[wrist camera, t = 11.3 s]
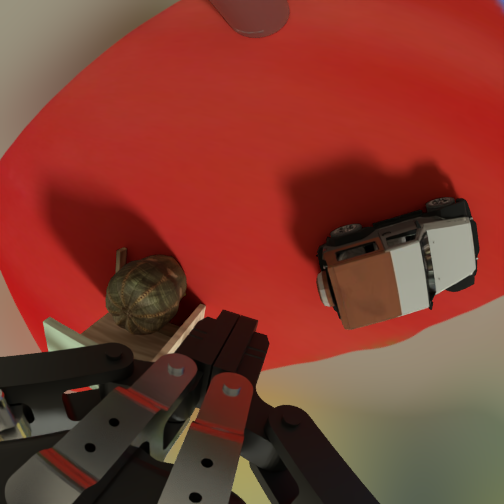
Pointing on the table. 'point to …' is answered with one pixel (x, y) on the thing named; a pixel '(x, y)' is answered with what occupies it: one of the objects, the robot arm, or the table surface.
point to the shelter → (122, 332)
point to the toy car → (398, 263)
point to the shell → (146, 294)
